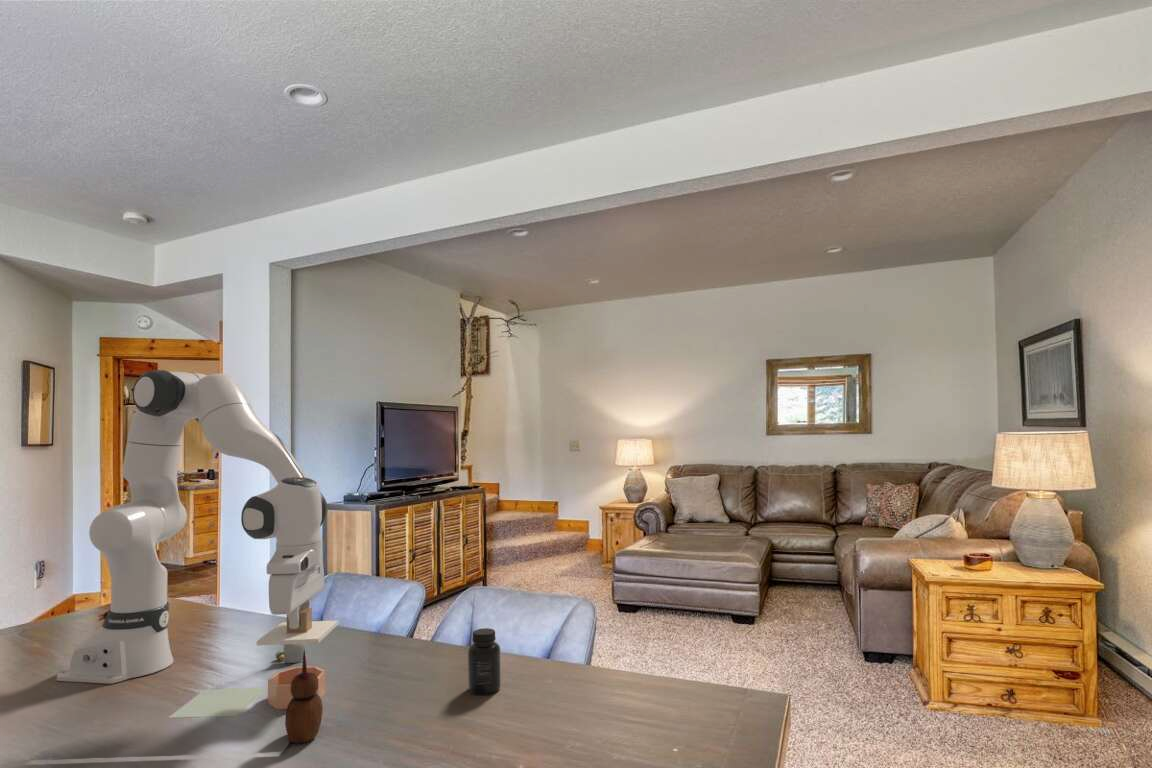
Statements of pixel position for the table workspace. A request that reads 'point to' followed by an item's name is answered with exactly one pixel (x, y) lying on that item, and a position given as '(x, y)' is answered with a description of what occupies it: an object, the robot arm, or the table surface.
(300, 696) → the wooden figurine
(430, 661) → the table surface
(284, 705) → the bowl
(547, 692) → the table surface
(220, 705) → the mat
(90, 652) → the robot arm
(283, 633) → the lid
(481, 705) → the table surface
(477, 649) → the supplement bottle
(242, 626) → the table surface
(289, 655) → the reed diffuser
